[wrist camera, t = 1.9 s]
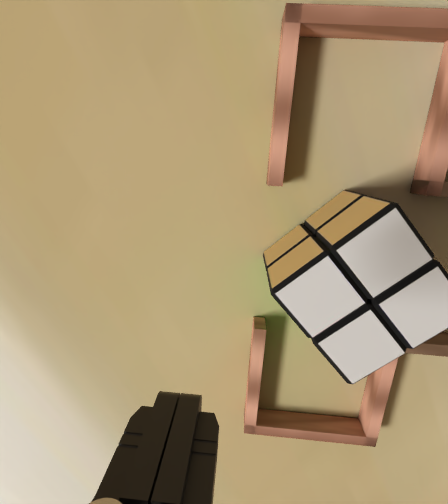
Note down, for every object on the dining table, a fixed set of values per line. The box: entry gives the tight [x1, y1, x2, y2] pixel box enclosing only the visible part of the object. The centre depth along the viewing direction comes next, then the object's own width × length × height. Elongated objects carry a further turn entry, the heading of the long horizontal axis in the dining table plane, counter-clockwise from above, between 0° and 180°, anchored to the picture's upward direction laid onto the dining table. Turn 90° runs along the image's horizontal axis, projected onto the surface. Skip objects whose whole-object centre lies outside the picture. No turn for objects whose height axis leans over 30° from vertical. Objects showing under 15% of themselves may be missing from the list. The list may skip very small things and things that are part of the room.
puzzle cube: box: [263, 190, 448, 384], centre depth 25 cm, size 10×10×10 cm
